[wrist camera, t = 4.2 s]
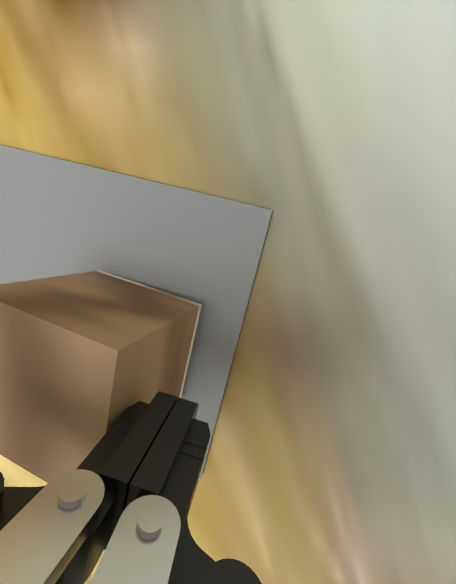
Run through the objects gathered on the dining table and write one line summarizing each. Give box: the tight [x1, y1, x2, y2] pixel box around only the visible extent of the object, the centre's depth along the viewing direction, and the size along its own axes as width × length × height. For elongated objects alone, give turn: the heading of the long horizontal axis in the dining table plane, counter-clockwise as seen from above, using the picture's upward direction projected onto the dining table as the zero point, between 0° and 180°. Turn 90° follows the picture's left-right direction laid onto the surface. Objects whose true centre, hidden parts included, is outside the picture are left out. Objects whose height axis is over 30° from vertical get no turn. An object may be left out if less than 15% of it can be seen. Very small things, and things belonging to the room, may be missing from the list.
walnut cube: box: [0, 270, 202, 483], centre depth 12 cm, size 6×6×6 cm
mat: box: [0, 145, 272, 479], centre depth 16 cm, size 22×16×1 cm
